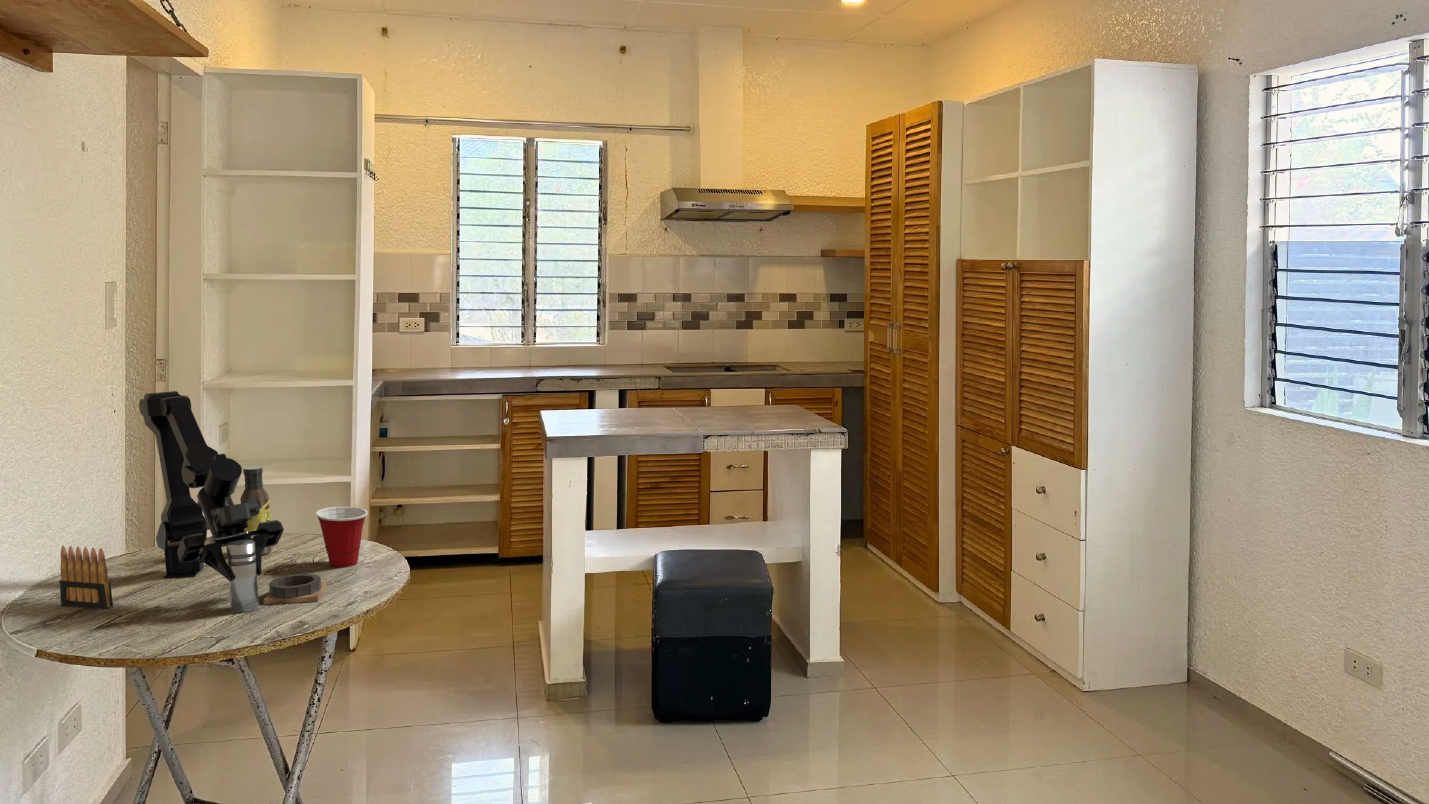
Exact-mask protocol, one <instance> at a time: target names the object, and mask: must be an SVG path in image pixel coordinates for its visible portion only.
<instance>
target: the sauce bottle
mask: <svg viewBox="0 0 1429 804" xmlns="http://www.w3.org/2000/svg"><path fill="white" fill-rule="evenodd" d="M263 472H264V470H263V467H262V466H260V465H259V466H258V465H256V466H254V465H253V466H245V467H244V468H242V474H243V476H244V491H243V492H242V493H241V496H240V499H239V500H240V504H242V503H244V502H245V501H246V500H249V499H256V501H257V503H258V506H259V510H260V511H259V514H257V515H256V516H252V519H249V520H248V521H247V522H248V527H247V528H245V529H244V530H245V532H250V531H256V530H257V527H258V525H259V523H261V522H267V521H272V513H271V511H272V510H271V500H270V495H269V494H268V492H267V490H265V488H264V482H263ZM272 551H273V546H271V547H265V548H264V549H263V551H262V554H261V556H262V555H266V554H270V553H272Z"/></svg>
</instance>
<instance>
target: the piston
mask: <svg viewBox="0 0 1429 804" xmlns="http://www.w3.org/2000/svg"><path fill="white" fill-rule="evenodd" d="M226 545H227V546H226V558H227V559H226V562H227V564H228V566H229V568H230V570H231V573H232V576H233V580H232V581H229V580H228V585H229V587H228V588H229V597H230V598H229V600H230V611H231V612H232V613H235V614H243V613H244V614H245V613H251V612H254V611H257V610H258V609H260V601H259V599H260V598H259V587H258V586H259V584H258V582H259V581H258V575H257V567H256V550H255V541H253V540H237V541H232V542H229V543H227V544H226Z"/></svg>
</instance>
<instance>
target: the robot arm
mask: <svg viewBox="0 0 1429 804" xmlns="http://www.w3.org/2000/svg"><path fill="white" fill-rule="evenodd" d="M138 408H139V412H140V414H141V416H143V421H144V425H146V427H147V428H148V429H149V430H150V431H151V432H152V433H153V434H154V435H155V441H156V445H157V453H158V457H159V458H158V459H159V463H160V470H161V476H162V480H163V485H164V486H163V487H164V492H165V499H166V503H165V506H164V508H163V510H162V512H161V515H160V521H161V522H160V524H159V527H158V531H157V533H156V536H155V539H156V545H157V548H159V549H161V550H163V552H164V563H165V573H164V574H163V576H162V577H163V578H166V579H167V578H183V577H187V578H188V577H195V575H196V576H197V575H198V574H199V573H201V571H203V569H204V567H205V566H204V565H205V564H206V565H207V566H209V567H210V568H212V569H213V570H215V571H216V572H218V573H219V574H220V575H221V576H222V577H224V578H225V579H226V580H228V582H229V581H232V580H233V576H232V573H231V570H230V568H229V566H228V562H227V559H226V557H225V556H224V554H223V549H222V548H224V547H225V548H226V547H227V545H226V544H227V543H229V542H232V541H237V540H253V541H255V550H256V567H257V576H261V574H262V555H261V554H262V551H263V549H264V548H265V547H271V546H272V547H274V546H276V545H278V543H279V541H280V539H281V537H282V535H283V533H284V530H285V527H284V526H283V524H282V522H281V521H280V520H277V519H274V520H271V521H267V522H261V523H259V525H258V527H257V530H256V531H250V532H245V530H244V529H245V528H247V527H248V522H247V521H248V520H249V519H252V516H256V515H257V514H259V511H260V510H259V506H258V503H257V501H256V499H249V500H246V501H245V502H244V503H242V504H241V503H235V504H234V501H233V498H232V495H233V494H234V493H235V491H236V489H237V487H238V483H239V481H240V478H241V475H242V474H243V468H242V467H243V466H241V464H239V462H238V461H236V460H234V459H233V458H229V457H227V455H226V453H219V452H218V451H217V450H216V449H214V448H212V447H210V446H208V444H207V442H206V440H205V437H204V435H203V433H202V431H201V429H200V426H199V424H198V422H197V419H196V417H195V415H194V413H193V411H192V401H191V398H190V397H189V395H181V394H179V391H177V390H171V391H162V392H161V391H160V392H149V393H148V392H147V393H145V394H144V396H143V398H142V399H141V398H140V400H139V402H138ZM197 488H200V489H199V491H198V493H197V496H196V498H197V502H196V501H195V500H194V498H192V496H191V491H190V489H197ZM208 530H209V531H210V534H211V536H208Z"/></svg>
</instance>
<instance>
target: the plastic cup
mask: <svg viewBox="0 0 1429 804" xmlns="http://www.w3.org/2000/svg"><path fill="white" fill-rule="evenodd" d="M315 514H316V517H317V519H318V522H319V525H320V528H321V532H322V533H321V534H322V537H323V541H324V546H325V547H324V548H325V550H326V552H327V558H328V562H329V564H330V566H331V567H333V568H348V567H352V566H356V564H358V561H359V556H360V555H359V554H360V548H361V543H362V541H361V540H362V535H363V534H362V533H363V527H364V524H365V523H364V522H365V521H366V517H367V516H368V514H369V513H368V510H367V509H364V508H361V507H355V506H343V505H342V506H331V507H324V508H320V509H318V510H317V511H316V512H315Z"/></svg>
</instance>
